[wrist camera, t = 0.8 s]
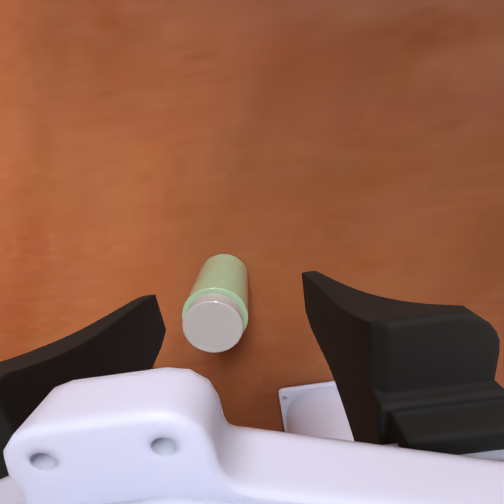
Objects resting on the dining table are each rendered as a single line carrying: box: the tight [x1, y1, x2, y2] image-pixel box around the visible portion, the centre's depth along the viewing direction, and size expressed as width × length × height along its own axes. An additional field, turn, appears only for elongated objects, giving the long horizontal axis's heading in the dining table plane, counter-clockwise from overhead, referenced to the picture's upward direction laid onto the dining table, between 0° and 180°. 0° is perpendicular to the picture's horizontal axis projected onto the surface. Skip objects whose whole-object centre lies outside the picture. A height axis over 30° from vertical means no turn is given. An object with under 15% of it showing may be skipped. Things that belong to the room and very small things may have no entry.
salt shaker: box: [182, 254, 248, 353], centre depth 19 cm, size 4×4×8 cm
